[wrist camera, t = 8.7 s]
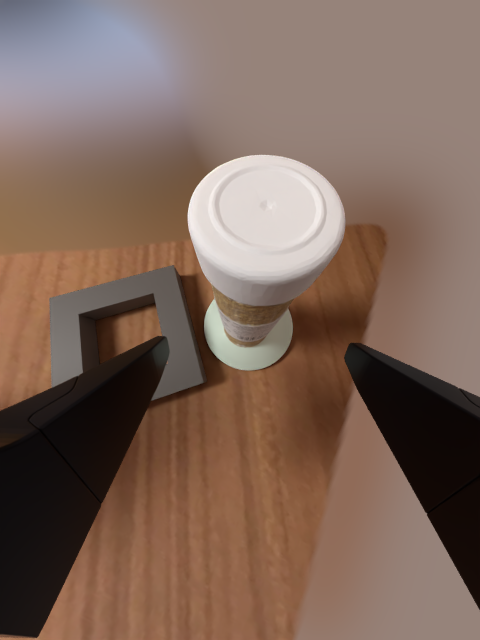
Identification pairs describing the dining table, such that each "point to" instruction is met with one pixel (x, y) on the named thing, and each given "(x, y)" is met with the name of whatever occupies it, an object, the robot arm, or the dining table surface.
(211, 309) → the coaster
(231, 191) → the sprinkles bottle
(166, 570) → the dining table surface
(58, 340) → the holder
